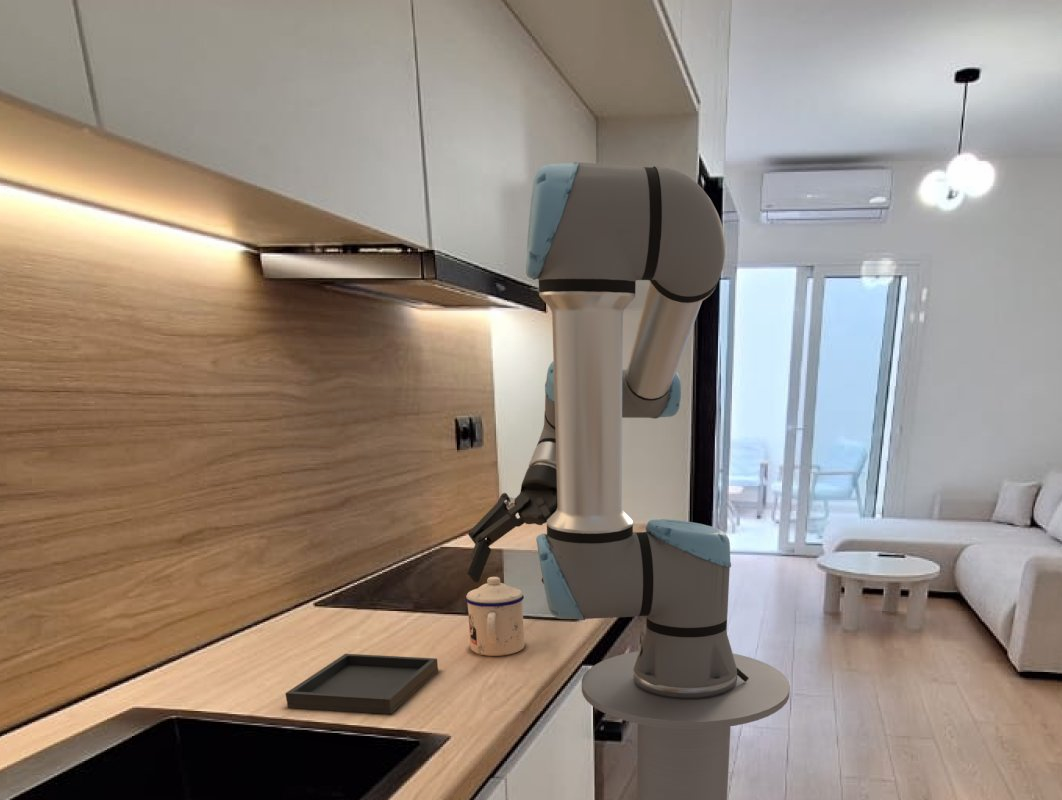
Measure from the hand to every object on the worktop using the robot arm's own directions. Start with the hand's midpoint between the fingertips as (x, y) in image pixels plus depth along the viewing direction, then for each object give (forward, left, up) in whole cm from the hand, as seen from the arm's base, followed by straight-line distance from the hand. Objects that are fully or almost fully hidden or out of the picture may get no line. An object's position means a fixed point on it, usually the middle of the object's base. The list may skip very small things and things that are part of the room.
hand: (508, 581), depth 131 cm
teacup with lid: (+1, +5, -10) cm, 12 cm away
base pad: (+14, +24, -10) cm, 30 cm away
